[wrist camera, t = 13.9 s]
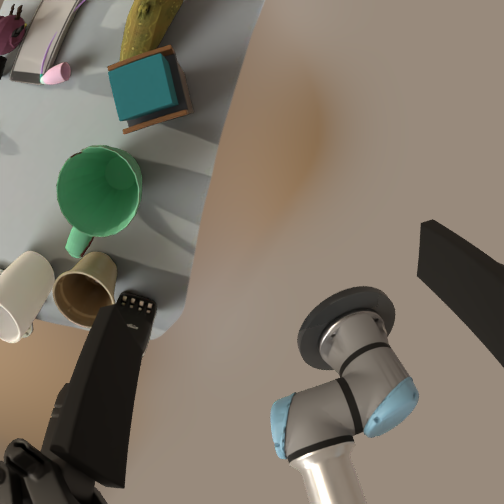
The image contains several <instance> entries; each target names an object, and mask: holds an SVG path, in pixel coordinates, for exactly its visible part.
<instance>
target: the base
mask: <svg viewBox="0 0 504 504" xmlns="http://www.w3.org/2000/svg"><path fill="white" fill-rule="evenodd" d="M159 53H161V54H162V55H163V56H164V57H165V59H166V60H167V61H168V62H169V66H170V71H171V75H172V79H173V83H174V88H175V92H176V96H177V100H178V104H179V105H177V106H173V107H170V108H167V109H163V110H160V111H157V112H154V113H151V114H148V115H145V116H142V117H139V118H136V119H133V120H127V122H128V126H129V128H126V129H123V134H127V133H130V132H134V131H137V130H139V129H142V128H145V127H148V126H151V125H154V124H158V123H161V122H164V121H167V120H171V119H174V118H177V117H181V116H184V115H188V114H189V109H188V105H187V101H186V97H185V93H184V88H183V84H182V80H181V76H180V71H179V67H178V63H177V58H176V54H175V51H174V49H173V48H172V46H171V45H168V46H164V47H161V48H158V49H154V50H151V51H148V52H145V53H142V54H139V55H137V56H134V57H131V58H128V59H126V60H123V61H120V62H118V63H115V64H113V65H110V66H108V67H107V68H108V71H112V70H114V69H117V68H119V67H122V66H124V65H127V64H130V63H132V62H135V61H138V60H141V59H144V58H147V57H150V56H153V55H156V54H159Z"/></svg>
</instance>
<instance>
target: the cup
mask: <svg viewBox="0 0 504 504" xmlns="http://www.w3.org/2000/svg"><path fill="white" fill-rule="evenodd" d="M54 283H55V276H54V272H53V269H52V267H51V265H50V264H49V262H48V261H47V260H46V259H45V258H44V257H43V256H42V255H40V254H39V253H36V252H34V251H27V252H25V253H23V254H22V255H21V256H19V257H18V258H17V259H16V260H15V261H14V262H13V263H12V264H10V265H9V266H8V267H7V268H6V269H5V270H4V271H3V273H2V274H1V275H0V339H2V340H4V341H6V342H9V343H16V342H19V340H20V339H21V338H22V336H23V335H24V334H25V332H26V331H27V330H28V328H29V327H30V325H31V324H32V322H33V321H34V319H35V318H36V316H37V314H38V313H39V311H40V309H41V308H42V306H43V304H44V302H45V301H46V299H47V297H48V295H49V293H50V292H51V290H52V288H53V285H54Z"/></svg>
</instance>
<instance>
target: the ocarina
mask: <svg viewBox="0 0 504 504" xmlns="http://www.w3.org/2000/svg"><path fill="white" fill-rule="evenodd" d="M182 3H183V0H134V3H133V5H132V7H131V9H130V12H129V15H128V17H127V21H126V25H125V30H124V36H123V41H122V46H121V53H120V61H123V60H126V59H128V58H131V57H134V56H137V55H139V54H142V53H145V52H148V51H151V50H154V49H156V48H157V46H158V45H159V43H160V42H161V40H162V38H163V37H164V35H165V33H166V31H167V29H168V27H169V25H170V24H171V22H172V20H173V18H174V17H175V15H176V13H177V12H178V10H179V8H180V7H181V5H182Z"/></svg>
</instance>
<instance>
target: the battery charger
mask: <svg viewBox="0 0 504 504" xmlns="http://www.w3.org/2000/svg"><path fill="white" fill-rule="evenodd" d="M116 306H117V308H118V310H119V312H120V313H121V315H122V317H123V319H124V320H125V322H126V324H127V326H128V327H129V329H130V331H131V332H132V334H133V336H134V337H135V339H136V341H137V342H138V344H139V345H140V347H141V349H142V350H143V355H142V357H143V356H144V354H145V352H146V349H147V346H148V343H149V340H150V336H151V331H152V326H153V322H154V319H155V316H156V313H157V312H156V311H157V305H156V303H155V302H154V301H153V300H150V299H147V298H144V297H140V296H137V295H134V294H130V293H126V292H123V293H121V294H120V296H119V298H118V300H117V302H116Z"/></svg>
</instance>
